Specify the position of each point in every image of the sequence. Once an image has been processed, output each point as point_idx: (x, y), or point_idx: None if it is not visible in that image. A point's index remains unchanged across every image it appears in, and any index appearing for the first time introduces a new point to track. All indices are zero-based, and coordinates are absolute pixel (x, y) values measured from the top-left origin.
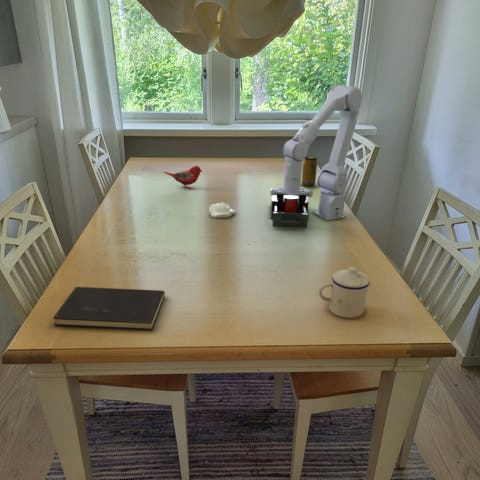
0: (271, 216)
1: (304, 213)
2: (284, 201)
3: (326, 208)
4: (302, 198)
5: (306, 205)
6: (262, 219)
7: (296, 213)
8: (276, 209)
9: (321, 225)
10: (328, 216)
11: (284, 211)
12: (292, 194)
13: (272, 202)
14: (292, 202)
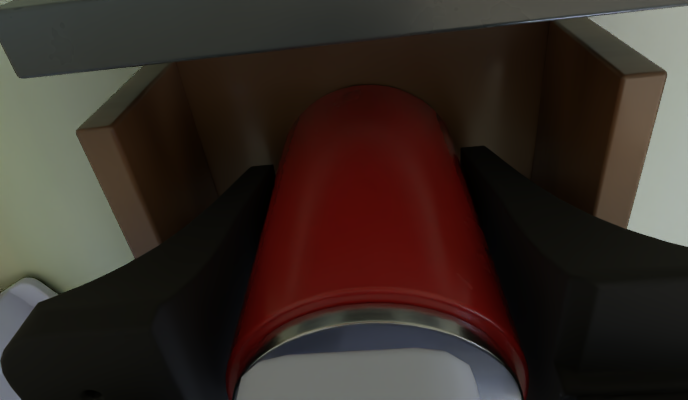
0: None
1: (72, 45)
2: (506, 303)
3: (13, 394)
4: (87, 366)
5: None
6: (654, 197)
7: (224, 10)
8: (614, 156)
9: (29, 163)
10: (8, 314)
11: (457, 175)
12: (326, 388)
13: None
14: (331, 258)
